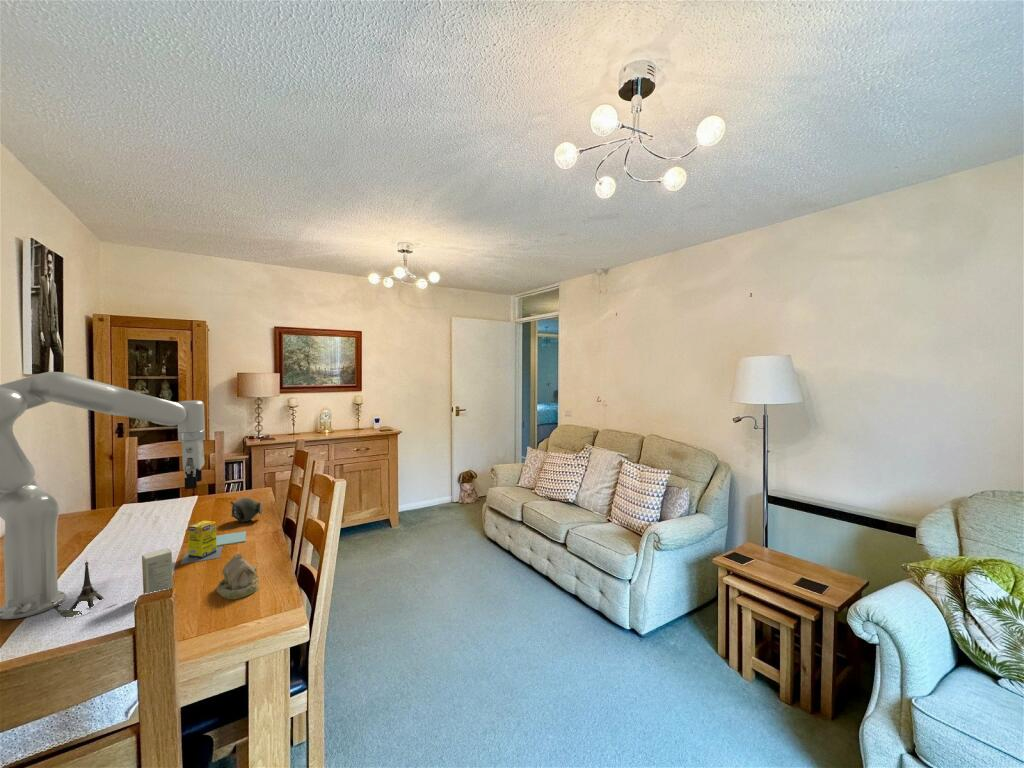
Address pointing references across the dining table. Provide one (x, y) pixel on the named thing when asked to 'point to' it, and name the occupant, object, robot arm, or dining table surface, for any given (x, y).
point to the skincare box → (157, 571)
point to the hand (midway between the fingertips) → (193, 484)
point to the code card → (211, 556)
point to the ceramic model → (238, 579)
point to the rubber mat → (230, 538)
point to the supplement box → (201, 539)
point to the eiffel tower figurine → (82, 596)
